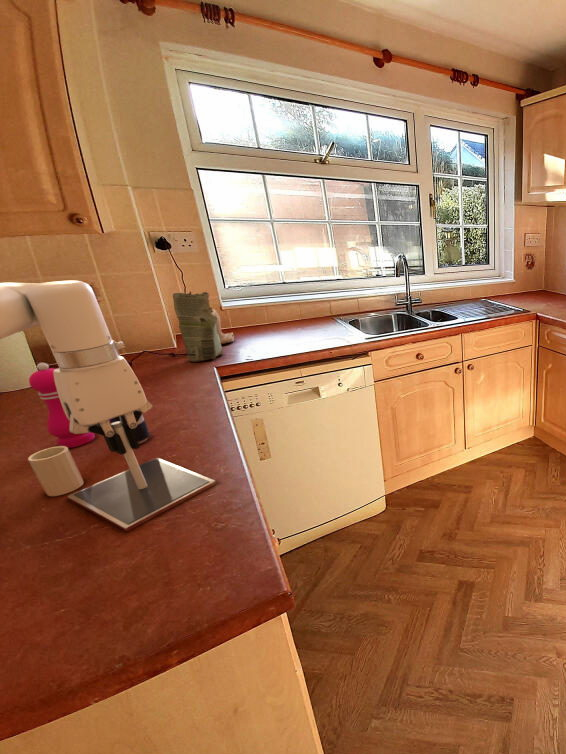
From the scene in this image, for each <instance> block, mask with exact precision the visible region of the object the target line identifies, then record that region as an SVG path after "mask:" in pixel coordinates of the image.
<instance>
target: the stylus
mask: <svg viewBox="0 0 566 754" xmlns="http://www.w3.org/2000/svg"><path fill="white" fill-rule="evenodd" d="M110 425H111V427H112V429H113V431H115V433H116V434H119V435H120V437H121V440H122V442H123V444H124V447H125V449H126V453H125V454H123V457H124V459H125V460H126V464H127V466H128V469H130V471H131V473H132V475H133V478H134V480H135V483H136V485H137V487H138V489H144V488H146V487H147V483H146V481H145V479H144V476H143V474H142V471H141V469H140V467H139V465H140V464H139V462H138V459H137V457H136V456H135V453H134V449H133V448H132V447H131V445H130V443H129V440H128V438H127V435H126V433H125V431H124V428H123V425H122V423H121V422H120V421H118V422H114V423H112V424H111V423H110Z"/></svg>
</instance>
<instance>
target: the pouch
mask: <svg viewBox="0 0 566 754" xmlns="http://www.w3.org/2000/svg"><path fill="white" fill-rule="evenodd" d="M209 295H210V293H209V292H207V291H204V292H202V293H195V294H194V293H193V294H192V291H189V293H183V292H175V293H174V292H173V293H172V300H173V308H174V312H175V315H176V318H177V319H178V328H179V331H180V334H181V339H182V341H183V346H184V348H185V352H186V356H187V359H188V361H191V362H192V363H193V362H194V363H195V362H203V361H208V360H215V359H216V357H218V356H223V355H224V353H223V346H222V344H220V338H219V334H218V333H217V330H216V323H217V317H216V316H212V313H211V311H212V309H214V308H213V307H211V306H210V299H209V297H210V296H209Z"/></svg>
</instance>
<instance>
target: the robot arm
mask: <svg viewBox="0 0 566 754" xmlns="http://www.w3.org/2000/svg"><path fill="white" fill-rule="evenodd" d="M39 326H40V329H41V330H42V333H43V336H44V337H45V339H46V342H47V344H48V346H49V348H50V350H51V352H52V355H53V357H54V359H55V362H56V364H57V366H58V368H54V369H55V370H53V374H54V380H55V385H56V388H57V392H58V395H59V398H60V401H61V404H62V407H63V410H64V412H65V414H66V416H67V418H68V419H69V420H70V429H69V431H70V432H71V433H74V434H83V433H94V434H96V435H100V436H103V439H104V440H105V443H106V445H107V448H108V449H109V451H111V452H113V453H116V454H119V455H122V456H124V454H125V453H126V449H125V447H124V444H123V442H122V440H121V437H120V435H119V434H116V433H115V431H113V428H112V427H111V422H110V420H109V419H112V418H115V417H118V416H119V418H120V421H121V423H122V425H123V428H124V431H125V433H126V435H127V438H128V440H129V443H130V445H131V447H132V450H138V449H140V448H141V447H140V444H138V442H139V441H140V439H139V437H138V434H137V432H136V429H135V428H136V426H137V422H138V420H139V419H140V417H141V415H143V414H145V413H146V412H148V411H150V410H151V409H152V408H153V404H152V403H151V402H150V401H149V400H148V399H147V397H146V393H145V392H144V389H143V387H142V385H141V383H140V381H139V379H138V377H137V376H136V374H135V372H134V370H133V369H132V367H131V366H130V364H129V362H128V361H127V360H126V359H125V357H124V356H121V355H120V351H121V350H124V349H126V344H125V342H123V341H118V342H117V341H115V340H113V338H112V336H111V333H110V331H109V328H108V326H107V323H106V320H105V317H104V315H103V313H102V310H101V307H100V305H99V302H98V300H97V297H96V294H95V292H94V290H93V288H92V287H91V286H90V284H88V283H87V282H84V281H81V280H56V281H47V282H46V281H45V282H40V283H30V282H0V340H3V339H5V338H7V337H10V336H12V335H14V334H17V333H21V332H24V331H26V330H29V329H32V328H35V327H39Z"/></svg>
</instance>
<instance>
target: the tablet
mask: <svg viewBox="0 0 566 754" xmlns="http://www.w3.org/2000/svg"><path fill="white" fill-rule="evenodd" d="M139 467H140V469H141V471H142V474H143V476H144V479H145V481H146V483H147V487H146V488H144V489H138V487H137V485H136V483H135V480H134V478H133V475H132V473H131V471H130V468H128V469H127V470H124V471H121V472H120V473H117V474H115V475H113V476H110V477H108V478H106V479H103V480H101V481H99V482H96V483H94V484H92V485H90V486H88V487H84V488H83V489H80V490H78V491H75V492H74V493H71V494H69V495H67V497H66V498H68V500H69V501H71V502H72V503H74V504H76V505H78V506H80V507H82V508H83V509H85V510H87V511H89V512H91V513H93V514H94V515H96V516H97V517H100V518H101V519H103V520H105V521H107V522H108V523H110V524H112V525H114V526H116V527H117V528H119V529H121V530H123V531H125V532H126V533H128V532H129V531H131V530H133V529H135V528H137V527H139V526H141V525H143V524H145V523H146V522H148V521H150V520H151V519H153V518H156V517H157V516H160V515H161V514H163V513H165V512H167V511H169V510H171V509H172V508H174V507H176V506H178V505H180V504H181V503H184V502H186V501H188V500H190V499H191V498H193V497H195V496H197V495H199V494H201V493H203V492H204V491H206V490H208V489H209V488H212V487H213V486H216V485H217V481H216V479H213V478H210V477H207V476H206V475H202V474H200V473H198V472H195V471H192V470H190V469H188V468H184V467H182V466H180V465H177V464H175V463H173V462H170V461H167V460H164V459H162V458H160V457H157V456H155V458H152V459H149V460H147V461H145V462H143V463H140V464H139Z"/></svg>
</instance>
